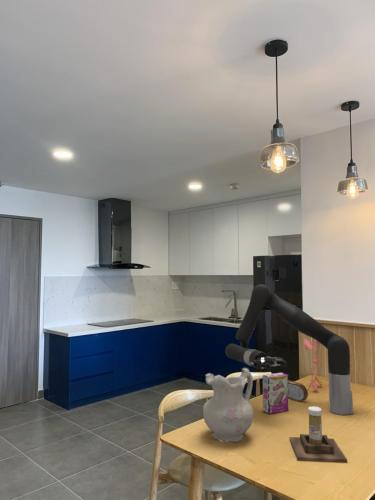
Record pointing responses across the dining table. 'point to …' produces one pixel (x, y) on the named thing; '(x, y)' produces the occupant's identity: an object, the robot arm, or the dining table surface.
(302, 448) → the walnut stand
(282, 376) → the candy bar box
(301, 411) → the dining table surface
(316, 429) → the spice jar
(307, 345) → the pink branching piece
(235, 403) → the ceramic pitcher
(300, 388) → the grey brown oval slab
